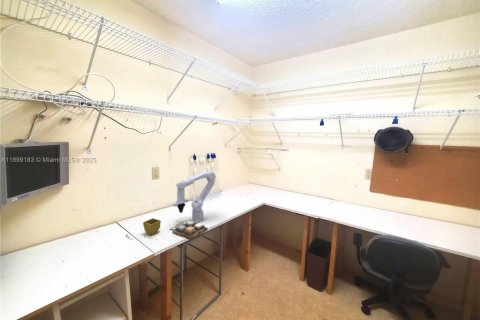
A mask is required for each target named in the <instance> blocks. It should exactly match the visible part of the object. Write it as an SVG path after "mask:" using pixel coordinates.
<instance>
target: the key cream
mask: <svg viewBox="0 0 480 320" xmlns="http://www.w3.org/2000/svg"><path fill="white" fill-rule="evenodd" d="M203 225H204V224H201V223H200V222H198V223H197V224H196V225H194V227H197V228H200V227H202V226H203Z"/></svg>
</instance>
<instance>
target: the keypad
mask: <svg viewBox="0 0 480 320" xmlns="http://www.w3.org/2000/svg"><path fill="white" fill-rule="evenodd" d="M183 224H184V225H183V226H186V228H188V227H190V225H187V224H186V223H183ZM196 224H198V223H195V224H193V225H191V227H194V225H196ZM202 225H203V226H202V227H200V228H197V227H194V228H195V231H193V232H191V233H188V232H186V228H185V229H183V230H180V229H178V228H176V229H175V230H173V231H172V230H171V231H172V233H171V234H173V235H176V236H179V237H181V238H183V239H186V240H189V241H192V240H193V239H195V238H197V237H199V236H200V235H201V234H203V233H205V232H206V231H208V227H207V226H205V225H204V224H202Z"/></svg>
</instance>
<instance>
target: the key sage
mask: <svg viewBox="0 0 480 320" xmlns="http://www.w3.org/2000/svg"><path fill="white" fill-rule="evenodd" d="M185 224H187V225H190V226H191V225H193V224H195V222H193V221H190V220H189V221H187V222H186V223H185Z"/></svg>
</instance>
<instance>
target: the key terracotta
mask: <svg viewBox="0 0 480 320" xmlns="http://www.w3.org/2000/svg"><path fill="white" fill-rule="evenodd" d="M193 231H195V228H194V227H191V226H190V227H188V228H186V232H188V233H191V232H193Z"/></svg>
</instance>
